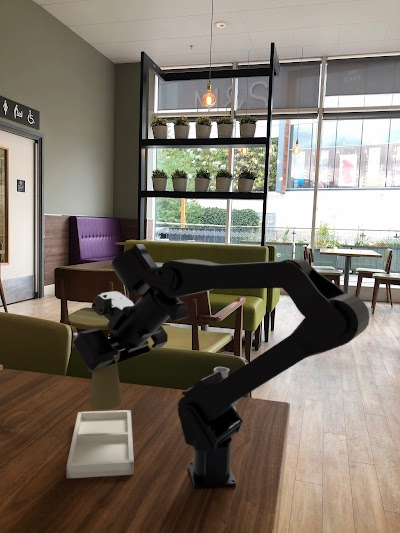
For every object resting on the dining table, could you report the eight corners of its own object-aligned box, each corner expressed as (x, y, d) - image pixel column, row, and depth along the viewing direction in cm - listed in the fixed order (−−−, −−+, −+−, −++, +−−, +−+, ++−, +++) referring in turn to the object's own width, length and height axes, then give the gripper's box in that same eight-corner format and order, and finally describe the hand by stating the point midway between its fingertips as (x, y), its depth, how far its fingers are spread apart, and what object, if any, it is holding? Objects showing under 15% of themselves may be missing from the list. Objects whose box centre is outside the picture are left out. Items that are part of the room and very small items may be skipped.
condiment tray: (133, 474, 69) (133, 462, 69) (66, 478, 67) (66, 465, 67) (130, 419, 88) (130, 410, 88) (78, 421, 86) (78, 411, 86)
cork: (119, 409, 79) (120, 348, 78) (85, 409, 78) (85, 348, 77) (123, 396, 85) (124, 339, 84) (91, 396, 84) (92, 339, 83)
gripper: (156, 274, 85) (113, 323, 92) (81, 282, 69) (36, 340, 76) (189, 320, 82) (142, 367, 88) (118, 340, 66) (67, 396, 73)
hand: (100, 366), depth 82 cm, fingers closed on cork, 5 cm apart
